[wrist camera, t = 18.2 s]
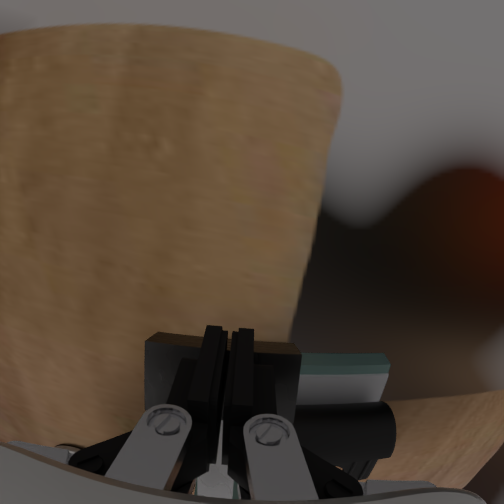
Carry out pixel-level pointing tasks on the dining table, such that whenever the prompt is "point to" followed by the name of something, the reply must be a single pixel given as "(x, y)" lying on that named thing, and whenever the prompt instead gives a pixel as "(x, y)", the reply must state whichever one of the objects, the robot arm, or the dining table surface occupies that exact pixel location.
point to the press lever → (265, 353)
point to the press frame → (339, 380)
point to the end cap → (347, 434)
